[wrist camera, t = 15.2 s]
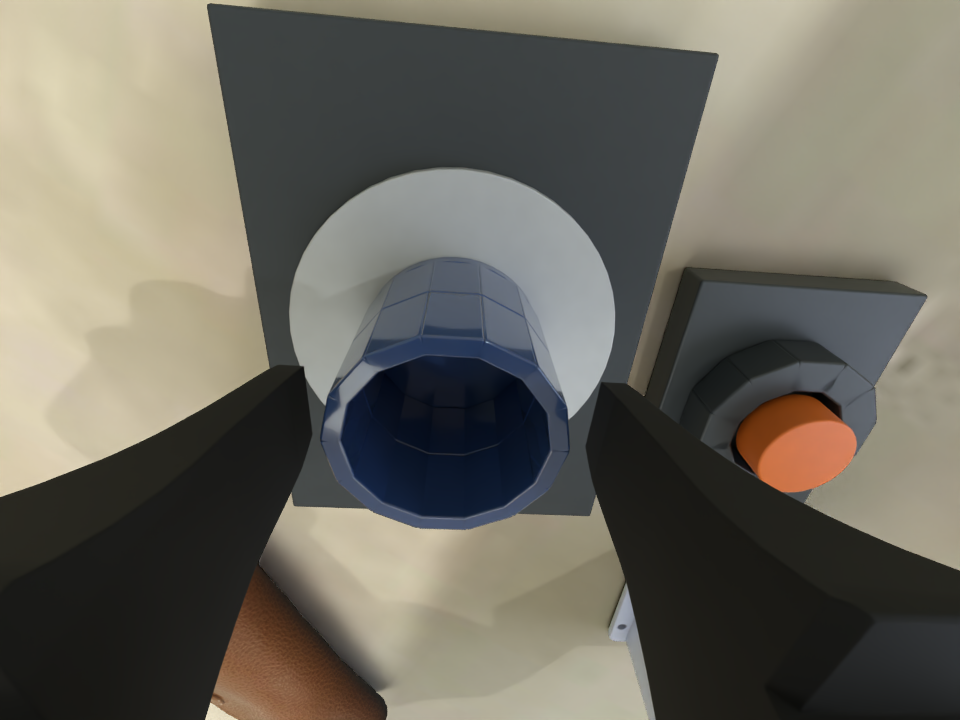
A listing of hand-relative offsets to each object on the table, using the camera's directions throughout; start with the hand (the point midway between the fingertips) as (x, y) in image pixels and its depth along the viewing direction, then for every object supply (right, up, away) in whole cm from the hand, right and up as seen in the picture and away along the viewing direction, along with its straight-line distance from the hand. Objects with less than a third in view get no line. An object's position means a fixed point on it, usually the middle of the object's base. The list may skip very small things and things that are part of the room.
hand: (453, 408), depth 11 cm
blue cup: (0, +2, +3) cm, 3 cm away
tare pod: (+12, 0, +8) cm, 14 cm away
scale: (0, +3, +6) cm, 6 cm away
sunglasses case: (-12, -14, +15) cm, 24 cm away
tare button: (+12, -1, +5) cm, 13 cm away
